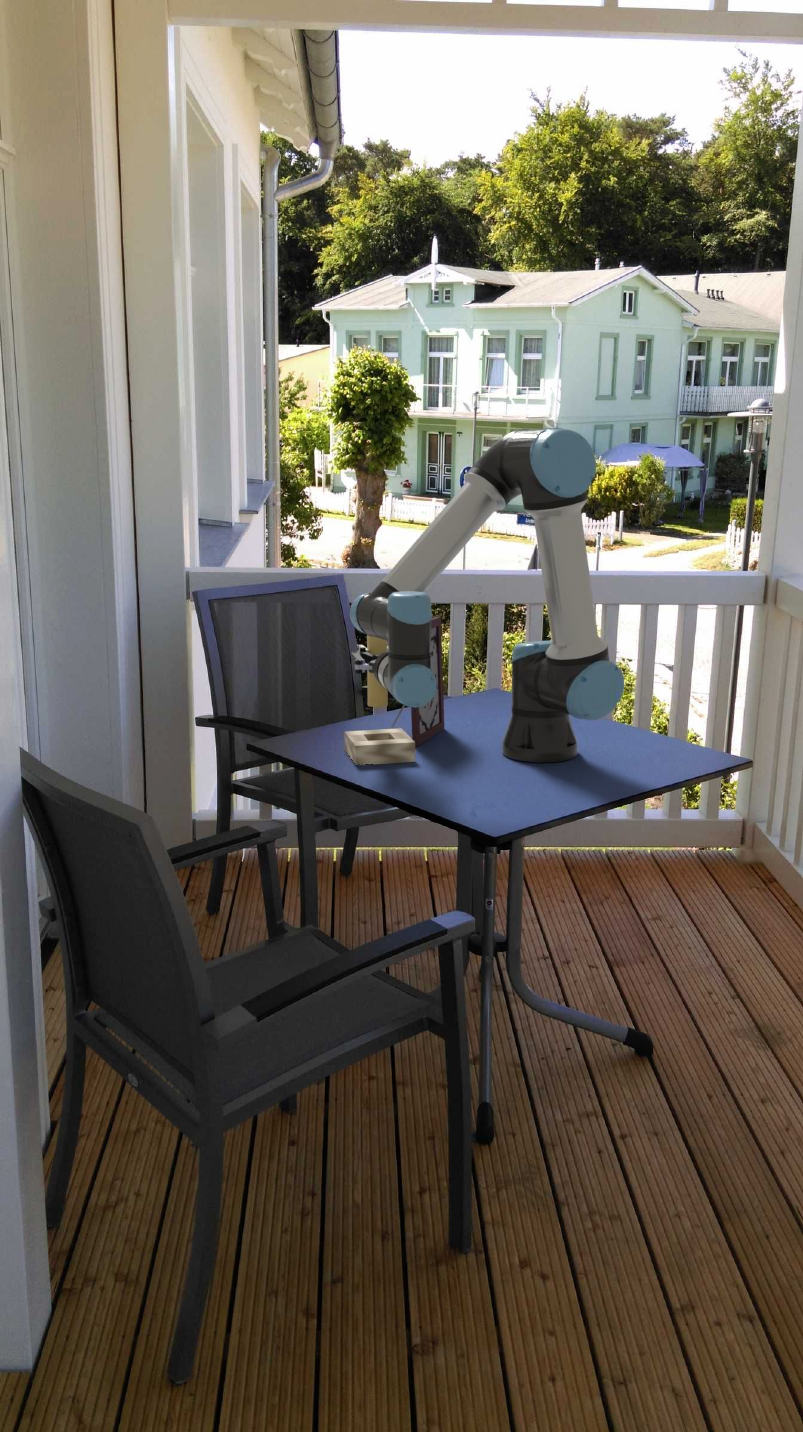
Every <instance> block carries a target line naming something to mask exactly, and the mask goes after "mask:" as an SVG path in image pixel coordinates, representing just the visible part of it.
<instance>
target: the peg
mask: <svg viewBox="0 0 803 1432" xmlns="http://www.w3.org/2000/svg"><path fill="white" fill-rule="evenodd" d="M366 646H367V647H366V648H367V649H368V650H369V653H371V654H373V655H377V654H381V653H383V652H384V651H386V650H387V646H388V641H386V640H383V639H381V638H377V637H371V636H368V635H367V634H366ZM366 672H367V674H366V675H367V706H368V707H371V708H372V707H373V708H383V707H387V706H388V705H389V703H388V702H389V701H388V699H389V698H388V694H389V693H388V692H389V691H388V690H386V689H385V688H384V687H383V686H382V685H381V684H380V683H379V682H378V681H377V680H376V678H375V676H374V674H373V673H370V672H369V670H366Z"/></svg>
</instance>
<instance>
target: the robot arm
mask: <svg viewBox="0 0 803 1432" xmlns="http://www.w3.org/2000/svg"><path fill="white" fill-rule="evenodd" d="M596 471H597V462H596V456H595V451H594V450H593V448H592V446H591V444H590V443H589V441H588V440H587V439H586V438H585V437H584V436H583V435H581V434H580V433H578V432H577V431H574V430H572V429H565V428H562V427H556V426H555V427H545V428H542V427H541V428H531V429H530V428H520V429H516V430H513V431H512V432H509V433H506V434H505V435H504V436H502V437H500V438H499V439H498V440H497V441H496V442H495V443H493V444H492V445H490V447H489V448H488V449H487V450H486V451H484V453H483V454H482V455H481V456H480V457H479V458H478V460H477V461H476V462H475V463H474V464H473V465H472V466H471V468H470V469H469V470H468V471H467V472H466V474H464V478H463V479H464V484H463V485H462V486H461V487H460V489H458V491H457V492H456V494H454V496H453V497H452V498H451V499H450V500H449V502H448V503H447V504H446V505H445V506H444V507H443V508H442V510H441V511H440V512H439V513H438V514H437V516H436V517H435V518H434V519H433V520H432V522H430V524H428V526H427V527H426V529H425V530H424V531H423V532H422V533H421V535H419V537H418V538H417V539H416V540H415V541H414V542H413V544H412V545H411V546H410V547H409V548H408V550H407V551H406V552H405V553H404V554H403V556H402V557H401V558H399V560H398V561H397V563H396V564H395V565H394V566H393V567H392V568H391V570H389V572H388V573H387V575H385V577H383V579H382V580H381V581H380V582H379V583H378V585H376V587H375V588H374V589H373V591H371V592H367V593H363V594H361V595H358V596H357V597H356V598H355V599H354V600H353V602H352V603H351V606H350V609H349V618H350V621H351V624H352V625H353V627H354V628H355V629H356V630H357V631H359V632H361V633H363V634H364V635H366V636H367V635H368V636H371V637H377V638H381V639H383V640H386V641H387V650H386V651H384V652H383V653H381V654H377V655H373V654H371V653H369V650H368V649H367V647H366V646H365V645H363V644H358V650H356V651H351V656H350V657H351V666H352V667H353V669H354V673H355V674H356V675H360V674H362V673H366V671H367V670H369V672H370V673H373V674H374V676H375V678H376V680H377V681H378V682H379V683H380V684H381V685H382V686H383V687H384V688H385V689H386V690H388V692H389V693H390V695H392V697H393V698H394V700H396V701H397V702H399V703H400V704H402V705H405V707H409V708H411V707H415V708H416V707H421V706H423V705H425V704H427V703H428V702H429V701H430V700H431V699H432V698H433V697H434V695H435V692H436V687H437V684H436V679H435V677H434V674H433V673H432V672H431V623H432V618H433V613H432V602H431V600H432V599H431V597H430V595H429V594H428V593H426V592H427V591H428V590H429V588H430V587H431V586H432V585H433V584H434V583H435V581H436V580H437V579H438V578H439V577H440V575H441V574H442V573H443V572H445V569H446V568H447V567H448V566H449V565H450V564H451V562H453V560H454V559H455V558H456V557H457V556H458V554H459V553H460V552H461V551H463V548H464V547H465V546H466V545H467V544H468V543H469V541H471V539H472V538H473V537H474V536H475V535H476V534H477V532H478V531H479V530H480V529H481V528H482V526H484V524H485V523H486V521H487V520H489V518H490V517H491V516H492V515H493V513H494V512H495V511H502V510H504V509H505V508H506V507H507V505H509V503H510V502H512V501H513V499H515V498H517V497H518V496H520V495H521V498H522V505H523V511H524V512H526V514H528V515H530V516H531V517H532V518H533V521H534V527H535V528H534V529H535V534H536V542H537V548H538V556H539V563H540V568H541V576H542V583H543V589H544V596H545V597H544V598H545V604H546V610H547V616H548V623H549V629H550V630H549V631H550V637H551V640H538V641H535V640H533V641H527V642H525V641H524V642H520V643H517V644H515V646H514V647H513V650H512V657H511V715H510V718H509V722H508V725H507V727H506V730H505V733H504V736H503V739H502V745H501V747H502V748H501V749H502V750H501V753H502V754H503V756H505V757H507V758H509V759H512V760H516V761H522V762H528V763H559V762H563V761H569V760H571V759H574V758H575V757H577V756H578V741H577V737H576V735H575V731H574V728H573V726H572V721H571V718H570V716H572V717H573V718H575V719H579V720H587V721H597V720H601V719H603V718H605V717H607V716H608V715H610V714H611V713H612V712H613V711H614V710H615V709H616V707H617V704H618V703H621V702H620V701H621V700H622V697H623V694H624V691H625V690H624V689H625V676H624V674H623V671H622V669H620V667H619V666H618V665H617V664H616V663H614V662H612V661H610V655H609V647H608V642H607V641H606V640H604V639H603V638H602V637H600V636H599V634H598V633H599V632H598V628H597V627H598V626H597V619H596V611H595V605H594V596H593V589H592V581H591V575H590V567H589V559H588V551H587V545H586V538H585V532H584V531H585V530H584V524H583V517H582V509H583V507H584V506H585V504H586V503H587V502H588V501H589V496H588V489H589V488H590V487H591V485H592V480H593V479H594V478H595V476H596Z"/></svg>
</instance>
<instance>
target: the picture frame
mask: <svg viewBox="0 0 803 1432" xmlns="http://www.w3.org/2000/svg"><path fill="white" fill-rule="evenodd" d="M442 636H443V635H442V617H441V616H434V617H432V623H431V672H432V673H433V674H434V677H435V679H436V684H437V687H436V692H435V695H434V697H433V698H432V699H431V700H430V701H429V702H428V703H427V704H425V705H423V706H421V707H416V708H415V707H410V715H411V718H410V719H411V734H412V735H411V736H412V737H411V739H412V740H413V741H414V742H415V748H416V747H420V745H423V743H425V742H428V740H431V738H433V737H434V736H436V735H438V734H439V733H441V732H442V731H443V730H445V728H446V727H445V705H444V704H445V701H444V700H445V699H444V697H445V695H444V674H443V671H444V669H443V668H444V666H443V643H442V642H443V640H442V639H443V637H442ZM405 707H406V705H404V704H402V707H401V709H400V711H399V712H398V714H397V716H396V718H395V720H394V721H393V723H392V725H391V727H390V729H394V727H395V725H396V723H397V721H398V720H399V718H400V716H401V714H402V712H403V710H404V709H405Z"/></svg>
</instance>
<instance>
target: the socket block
mask: <svg viewBox="0 0 803 1432" xmlns="http://www.w3.org/2000/svg"><path fill="white" fill-rule="evenodd" d="M344 751H345V753H346V752H347V753H348V754H347V753H346V754H347V756H348V755H349V756H350V757H349V756H348V757H349V759H350V760H351V759H352V760H353V761H352V760H351V761H352V763H353V762H354V763H355V764H356V765H357V764H360V765H359V766H366V765H365V764H369V765H370V764H373V765H386V764H400V763H416V746H415V742H414V741H413V740H412V737H411V736H410V735H409V734H408V733H407V732H406V731H405V730H404V729H403V728H402V727H398V728H393V729H391V728H384V729H368V730H366V729H365V730H364V729H363V730H348V731H344ZM354 763H353V764H354ZM355 764H354V765H355ZM362 764H363V765H362ZM356 765H355V766H356ZM369 765H368V766H369Z"/></svg>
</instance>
